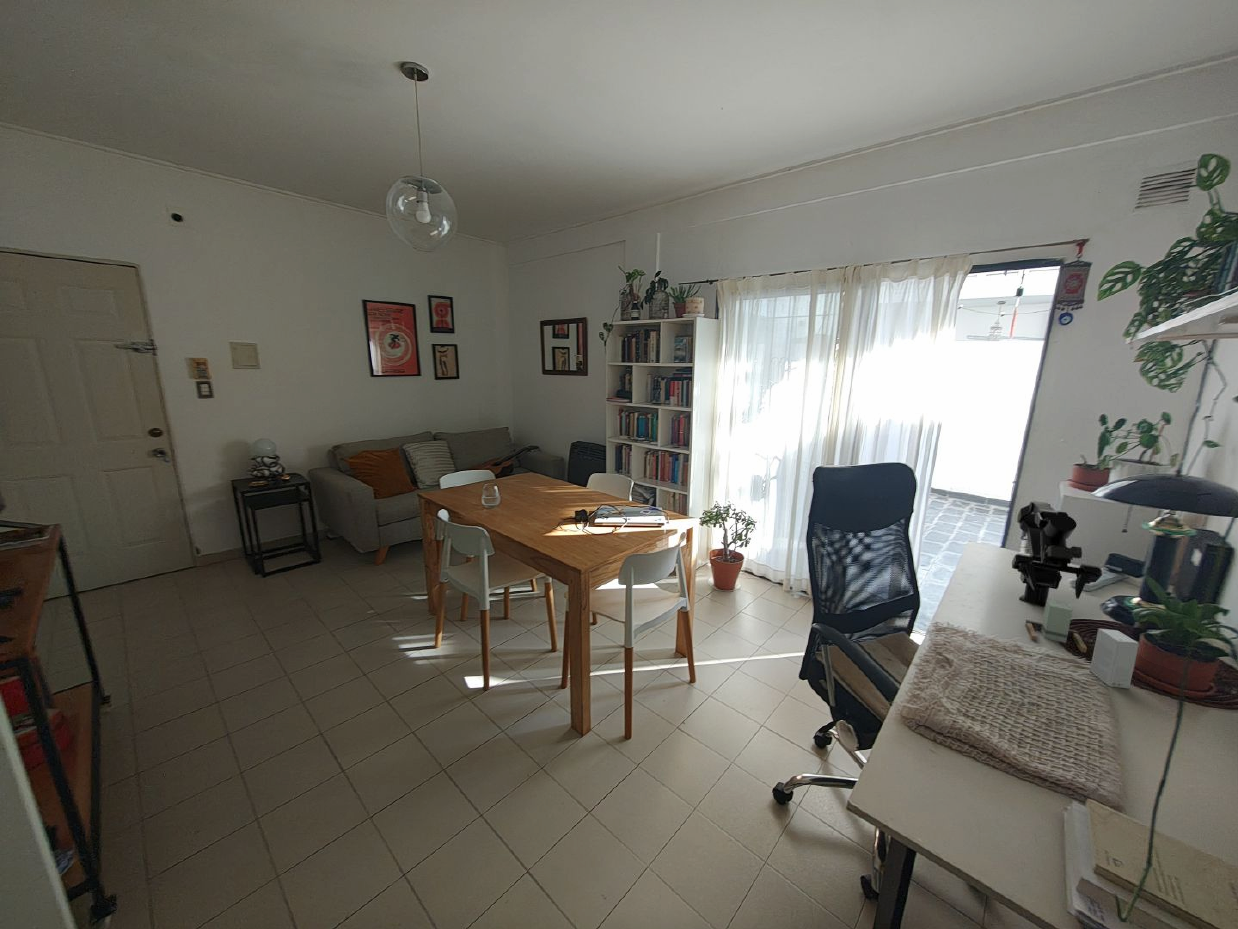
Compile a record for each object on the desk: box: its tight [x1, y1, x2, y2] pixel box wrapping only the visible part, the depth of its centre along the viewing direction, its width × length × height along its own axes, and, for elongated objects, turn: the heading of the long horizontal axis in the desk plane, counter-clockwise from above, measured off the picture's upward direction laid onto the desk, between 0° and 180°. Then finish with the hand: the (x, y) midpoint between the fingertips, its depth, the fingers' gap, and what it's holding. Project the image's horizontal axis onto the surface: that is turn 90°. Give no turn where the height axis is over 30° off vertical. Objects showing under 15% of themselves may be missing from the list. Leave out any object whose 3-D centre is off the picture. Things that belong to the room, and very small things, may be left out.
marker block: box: [1040, 599, 1073, 644], centre depth 127 cm, size 5×5×10 cm
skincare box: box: [1089, 628, 1140, 689], centre depth 108 cm, size 6×4×12 cm
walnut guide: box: [1025, 619, 1088, 654], centre depth 127 cm, size 10×11×2 cm
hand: (1055, 594), depth 130 cm, fingers open, 9 cm apart
